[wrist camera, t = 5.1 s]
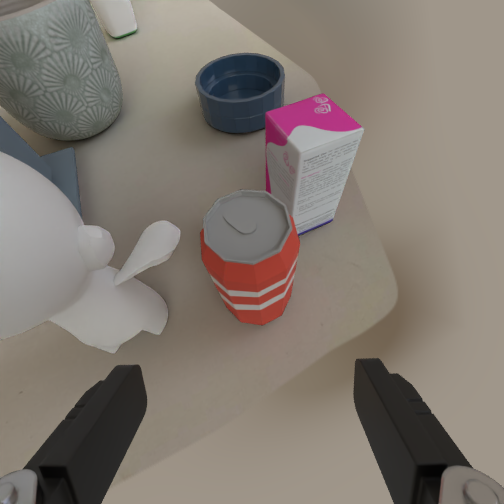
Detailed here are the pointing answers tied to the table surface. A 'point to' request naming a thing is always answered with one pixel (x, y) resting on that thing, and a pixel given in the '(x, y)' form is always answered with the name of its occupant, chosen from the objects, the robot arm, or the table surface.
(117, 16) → the cup
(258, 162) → the table surface
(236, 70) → the bowl
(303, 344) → the table surface
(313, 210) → the supplement box
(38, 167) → the desk lamp
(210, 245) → the beverage can
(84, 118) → the planter
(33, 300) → the figurine
